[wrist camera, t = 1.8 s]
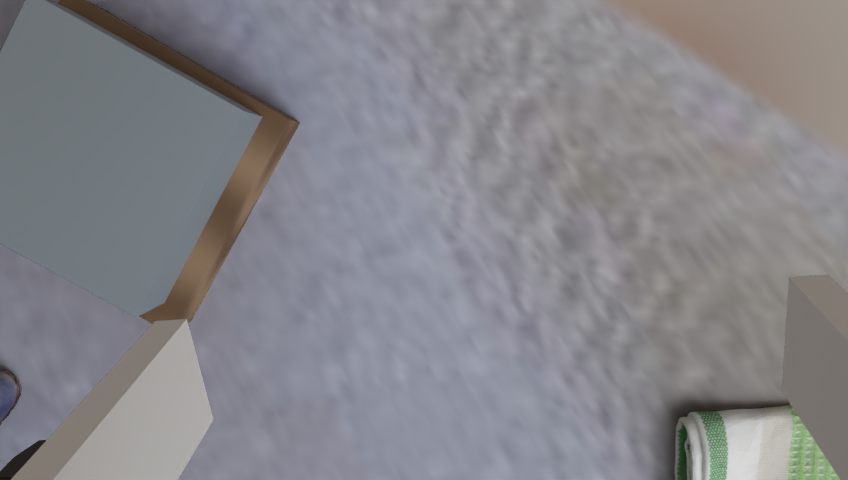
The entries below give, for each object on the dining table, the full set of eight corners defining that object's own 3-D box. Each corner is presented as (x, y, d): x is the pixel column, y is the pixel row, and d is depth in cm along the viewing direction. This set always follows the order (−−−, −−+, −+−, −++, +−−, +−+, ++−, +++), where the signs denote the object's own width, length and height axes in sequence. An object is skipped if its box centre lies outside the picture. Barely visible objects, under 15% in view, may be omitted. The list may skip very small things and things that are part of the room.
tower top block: (164, 303, 42) (136, 317, 38) (-25, 200, 41) (-74, 203, 37) (262, 116, 40) (244, 111, 36) (69, 9, 40) (29, -9, 36)
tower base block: (193, 319, 46) (170, 333, 42) (-5, 207, 45) (-47, 211, 41) (301, 123, 44) (288, 118, 40) (98, 6, 44) (64, -10, 40)
